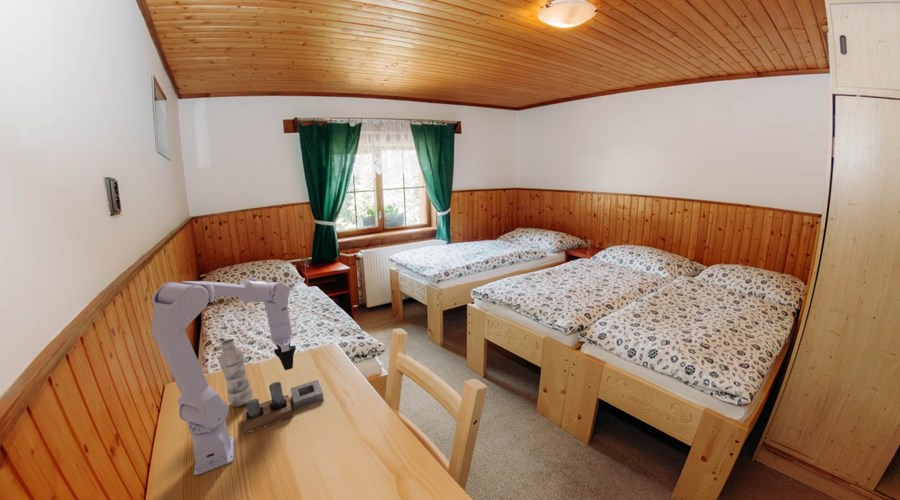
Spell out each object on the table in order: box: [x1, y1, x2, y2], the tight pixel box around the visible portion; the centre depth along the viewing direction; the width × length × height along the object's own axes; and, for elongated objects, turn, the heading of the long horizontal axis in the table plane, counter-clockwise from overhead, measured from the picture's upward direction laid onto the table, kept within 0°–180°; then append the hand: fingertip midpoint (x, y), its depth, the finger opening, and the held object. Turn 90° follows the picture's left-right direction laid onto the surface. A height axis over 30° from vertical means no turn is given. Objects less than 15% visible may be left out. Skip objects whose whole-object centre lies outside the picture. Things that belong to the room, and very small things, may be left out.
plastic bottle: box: [218, 338, 253, 407], centre depth 111 cm, size 6×7×20 cm
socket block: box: [290, 379, 324, 411], centre depth 113 cm, size 8×8×2 cm
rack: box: [242, 394, 294, 434], centre depth 105 cm, size 8×12×6 cm, turn 119°
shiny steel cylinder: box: [268, 381, 285, 411], centre depth 106 cm, size 3×3×9 cm
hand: (287, 363), depth 114 cm, fingers open, 7 cm apart
